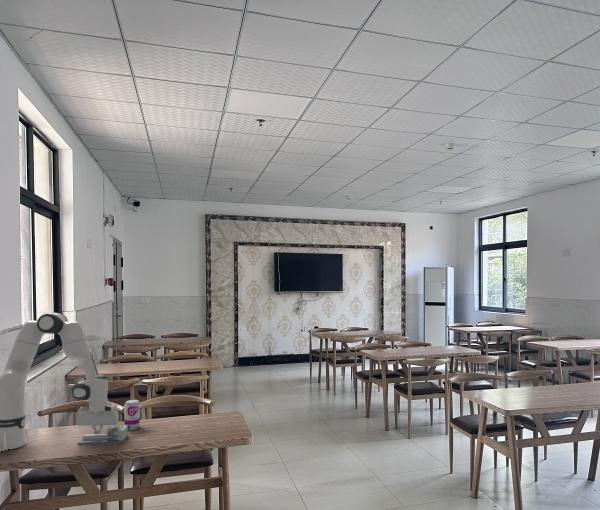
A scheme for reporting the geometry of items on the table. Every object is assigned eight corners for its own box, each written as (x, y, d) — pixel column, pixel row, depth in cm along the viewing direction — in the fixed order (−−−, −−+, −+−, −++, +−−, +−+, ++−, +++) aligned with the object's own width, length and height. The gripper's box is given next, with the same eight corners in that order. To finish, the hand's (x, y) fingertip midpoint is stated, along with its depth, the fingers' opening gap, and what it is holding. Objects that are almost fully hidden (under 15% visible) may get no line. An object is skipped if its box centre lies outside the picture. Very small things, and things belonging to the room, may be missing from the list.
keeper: (106, 440, 225) (107, 429, 225) (111, 435, 232) (111, 425, 232) (118, 439, 225) (119, 429, 226) (123, 435, 232) (123, 425, 233)
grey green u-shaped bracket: (77, 444, 222) (77, 432, 222) (85, 438, 232) (85, 426, 232) (121, 443, 224) (122, 431, 224) (127, 436, 234) (128, 425, 234)
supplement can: (139, 429, 245) (140, 402, 246) (124, 431, 242) (124, 403, 243) (139, 425, 253) (139, 398, 254) (124, 427, 250) (124, 400, 251)
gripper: (75, 408, 225) (74, 436, 224) (116, 407, 226) (115, 435, 225) (80, 405, 231) (79, 432, 230) (120, 404, 233) (119, 431, 232)
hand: (97, 433), depth 228 cm, fingers closed
